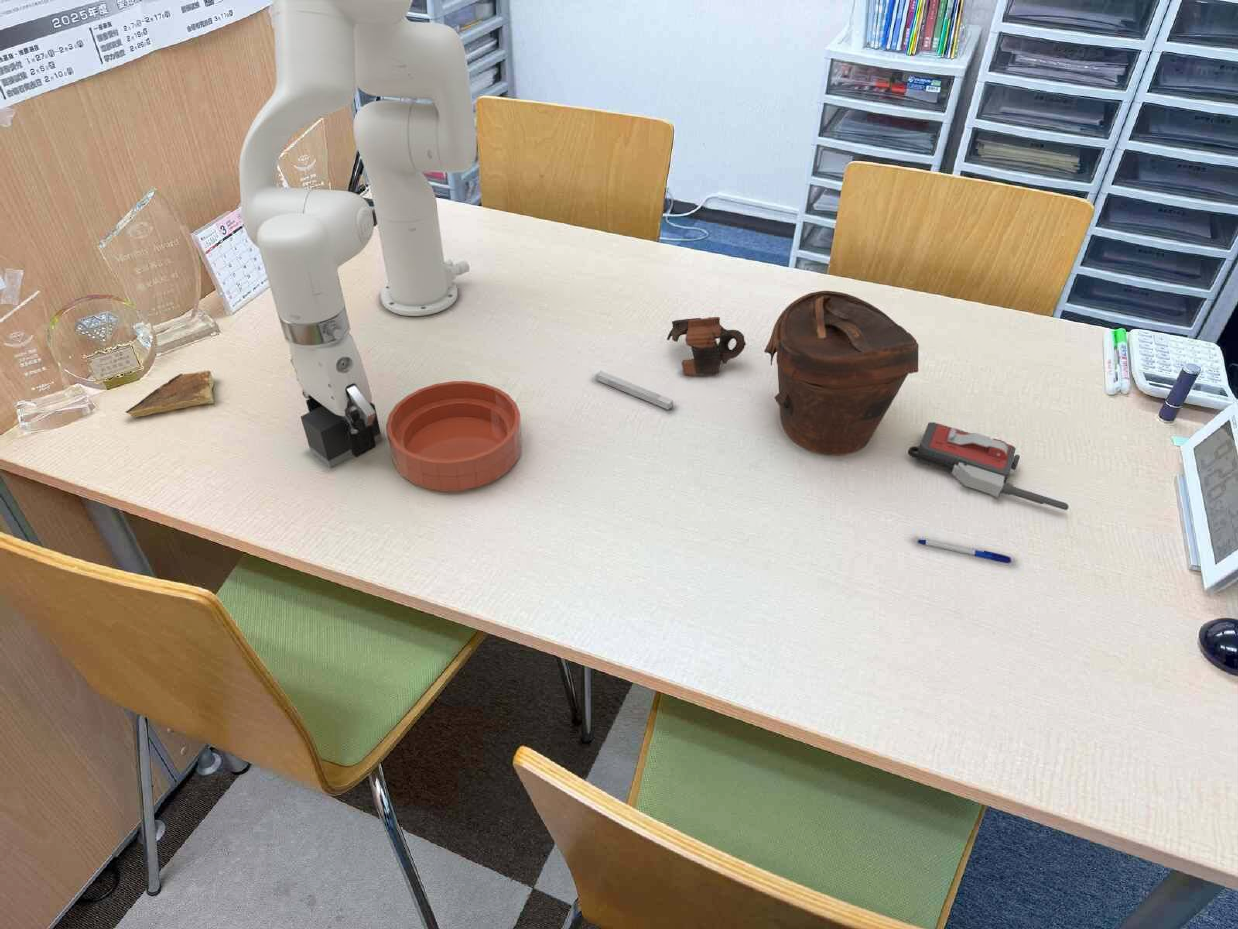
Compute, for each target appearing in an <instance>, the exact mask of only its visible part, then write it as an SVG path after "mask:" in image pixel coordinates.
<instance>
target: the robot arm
mask: <svg viewBox="0 0 1238 929" xmlns="http://www.w3.org/2000/svg"><path fill="white" fill-rule="evenodd" d="M413 2H414V0H272V8H273V9H272V11H273V12H272V13H273V31H274V32H273V33H274V34H273V35H274V56H275V57H274V58H275V59H274V61H275V75H276V76H275V78H276V79H275V80H276V81H275V88H274V91H273V93H272V94H271V96H270V98H269V99H268V100H267V101H266V102H265V103H264V105H263V106H262V108H261V109H260V110H259V111H258V113H257V114H256V116H255V118H254V119H253V121H252V123H251V124H250V127H249V129H248V131H247V134H246V136H245V138H244V141H243V144H242V146H241V151H240V156H239V164H238V172H239V173H238V176H239V193H240V194H239V196H240V208H241V209H240V210H241V216H242V222H243V226H244V230H245V232H246V234H247V237H248V239H249V240H250V241H251V242H252V244H253V245H254V246H256V247H257V248H258V250H259V254H260V257H261V261H262V263H263V267H264V271H265V274H266V277H267V282H268V285H269V289H270V291H271V295H272V298H273V302H274V305H275V309H276V313H277V316H278V319H279V323H280V327H281V329H282V334H283V339H284V340H285V342H286V343H287V344H288V347H289V348H288V349H289V352H290V353H289V354H290V357H291V358H290V363H291V366H293V370H294V372H295V376H296V380H297V381H298V384H299V386H300V387H301V389H302V390H301V394H302V396H303V397H304V399H306V400H305V403H306V407H307V410H308V413H309V412H311V411H313V410H315V409H317V408H319V407H321V406H325V407H326V408H327V409H329V410H330V411H331V412H333V413H334V414H336V415H339V416H342V418H343V420H344V421H345V423H346V425H347V427H348V428H349V431H348V432H347V435H348V439H349V443H350V447H351V451H352V455H353V456H352V457H355V458H358V457H361V456H362V455H364V454H365V453H368V452H369V451H371V450H373V449H375V448H376V446H377V443H375V439H374V434H373V430H372V425H373V423H374V418H375V415H376V414H377V412H376V413H375V411H374V409H373V408H372V407H371V405H370V403H371V402H372V401H373V397H372V393H371V388H370V384H369V380H368V377H367V373H366V370H365V366H364V364H363V361H362V358H361V354H360V352H359V349H358V347H357V345H356V342H355V340H354V338H353V336H352V335H351V333H350V331H351V324H350V321H349V316H348V312H347V307H346V302H345V298H344V294H343V289H342V285H341V280H340V275H339V271H338V270H339V268H340V267H341V266H342V265H344V264H346V263H347V262H349V261H350V260H352V259H353V258H354V257H356V256H358V255H359V254H360V253H362V251H363V250H365V248H366V246H367V245H368V244H369V242H370V241H371V239H372V237H373V235H374V227H375V226H374V225H375V224H374V215H373V211H372V208H371V206H370V204H369V203H368V201H367V200H366V199H364V197H362V196H361V195H359V194H358V193H355V192H352V191H347V190H340V189H320V188H311V187H310V188H308V187H305V188H304V187H287V186H278V175H277V174H278V165H279V160H280V156H281V154H282V152H283V150H284V148H285V147H286V145H287V143H288V142H289V141H290V140H291V138H292V137H294V135H296V134H297V133H298V132H299V131H300V130H303V128H305V127H306V126H309V125H310V124H312V123H313V122H315V121H317V120H319V119H322V118H324V117H327V116H329V115H331V114H334V113H336V112H340V111H342V110H344V109H345V108H348V107H349V106H350V105H351V104H352V103H353V102H354V101H355V98H356V94H357V88H358V89H359V90H360V91H361V92H363V93H365V94H367V95H370V96H373V97H379V98H392V99H393V98H395V99H410V100H388V99H387V100H377V101H376V100H375V101H371V102H368V103H366V104H364V105H362V106H361V107H360V108H359V109H358V110H357V112H356V113H355V116H354V119H353V127H352V128H353V129H352V130H353V138H354V142H355V145H356V148H357V152H358V154H359V156H360V159H361V162H362V165H363V167H364V170H365V174H366V176H367V180H368V185H369V188H370V193H371V197H372V202H373V208H374V214H375V218H376V224H377V230H378V237H379V241H380V246H381V251H382V258H383V262H384V267H385V268H384V269H385V274H386V280H387V284H386V285H385V286H384V287H383V288H382V289H381V291H380V299H381V300H380V301H381V303H382V305H383V307H384V308H385V309H387V310H388V311H389V312H391V313H394V314H397V315H400V316H407V317H422V316H429V315H433V314H437V313H440V312H443V311H444V310H446V309H448V308H449V307H451V306H452V305H454V303H455V301H457V299H458V286H457V285H456V283H455V282H453V281H454V280H456V277H458V276H460V275H463V274H465V273H468V272H469V271H470V266H469V263H468V262H467V261H466V260H462V261H460V262H457V263H455V264H454V262H453V261H452V260H451V259H448V260H446V261H445V257H444V256H445V255H444V249H443V242H442V234H441V227H440V219H439V218H440V217H439V211H438V203H437V202H438V201H437V197H436V193H435V191H434V189H433V186H432V185H431V183H430V181H429V180H428V178H427V177H426V176H425V174H424V173H427V172H428V173H444V174H445V173H446V174H459V173H464V172H466V171H468V170H470V169H471V168H472V167H473V165H474V164H475V161H476V158H477V150H478V149H477V148H478V143H477V142H478V141H477V130H476V121H475V114H474V113H475V112H474V106H473V105H474V104H473V97H472V90H471V81H470V74H469V73H470V72H469V65H468V60H467V54H466V50H465V45H464V44H463V41H462V38H461V37H460V35H459V33H458V32H457V31H456V30H455V29H454V28H453V27H451V26H449V25H448V24H444V23H439V22H425V21H411V20H409V19H408V18H407V15H408V13H409V11H410V9H411V6H412V4H413ZM411 99H413V100H429V101H431V102H424V101H423V102H421V101H420V102H419V101H411ZM423 172H424V173H423ZM349 401H351V402H352V404H353V405H354V406H352V407H350V408H348V409H346V408H347V403H348V402H349ZM372 403H373V402H372ZM345 409H346V410H345ZM355 410H358V412H359V413H360V419H359V420H357V421H356V422H355V423H354V422H353V420H352V419H351V417H350V415H349V413H351V412H353V411H355Z"/></svg>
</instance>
